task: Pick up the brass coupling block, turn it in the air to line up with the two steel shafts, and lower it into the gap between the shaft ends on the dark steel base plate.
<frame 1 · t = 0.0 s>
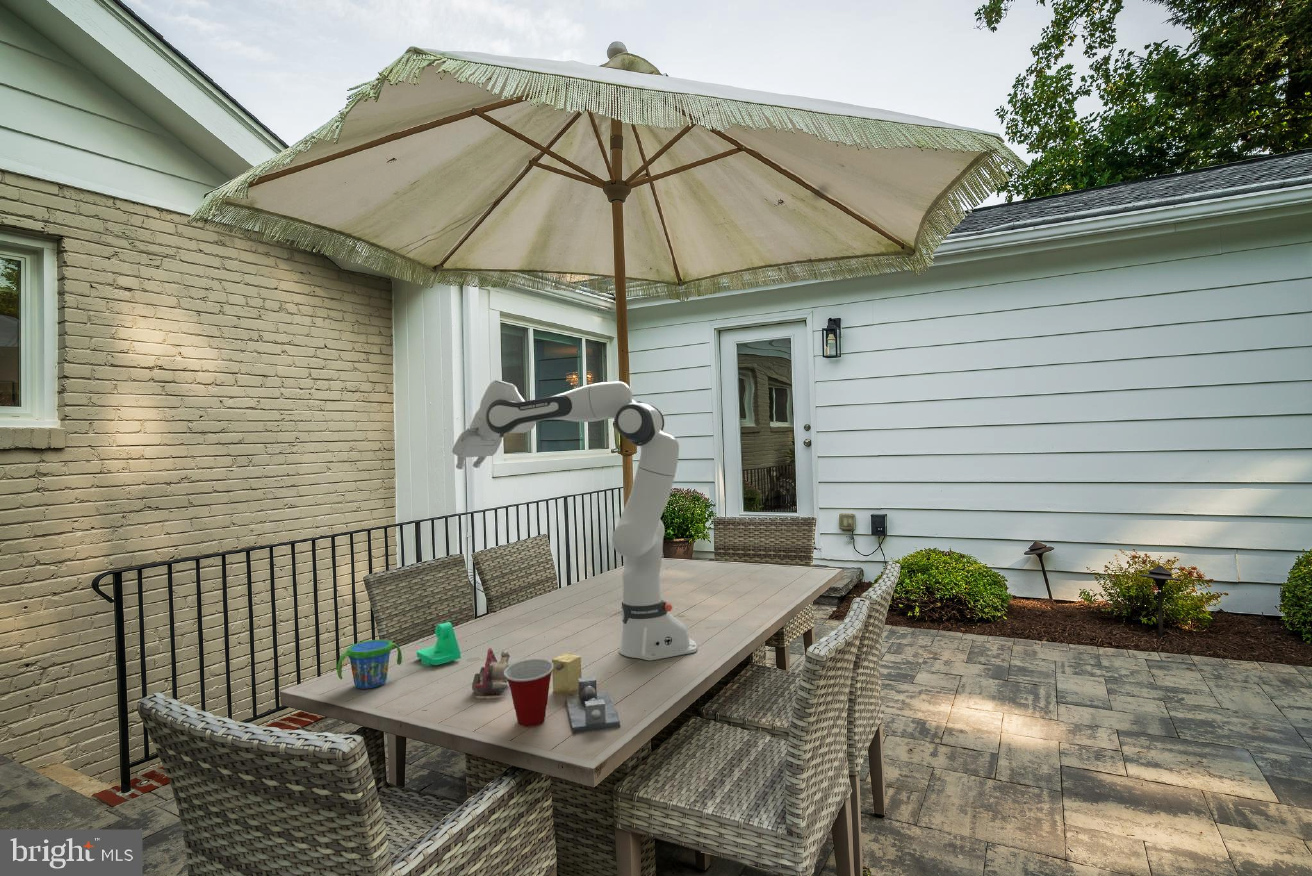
hand: (467, 467, 199), 54 cm above the table, fingers open, 8 cm apart
snack cup: (371, 685, 164), on the table
brake caliper: (493, 691, 158), on the table
plastic cup: (530, 722, 139), on the table
camera mount: (438, 661, 182), on the table
coupling block: (567, 690, 156), on the table
shaft stand: (591, 713, 142), on the table
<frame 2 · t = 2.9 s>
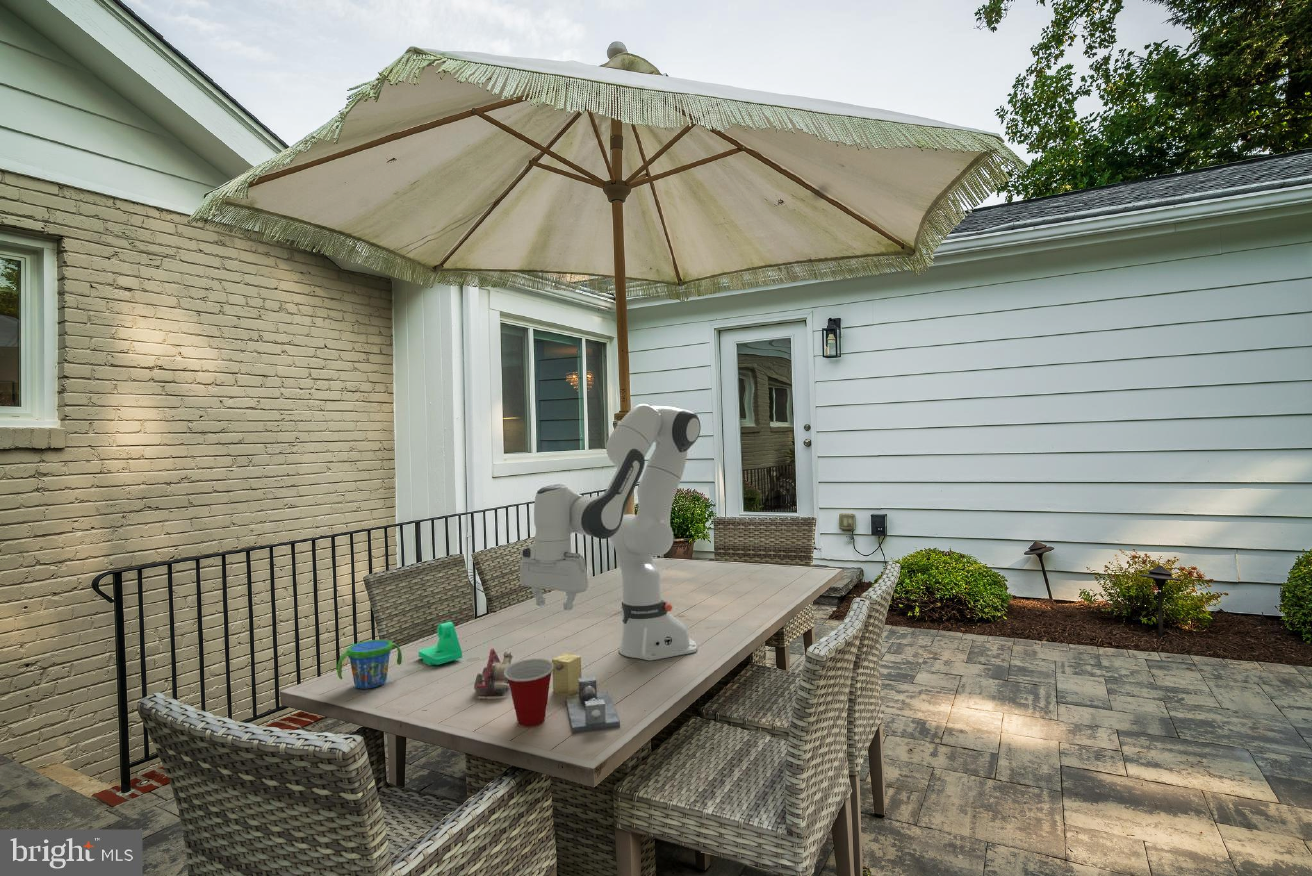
hand: (554, 607, 156), 20 cm above the table, fingers open, 8 cm apart
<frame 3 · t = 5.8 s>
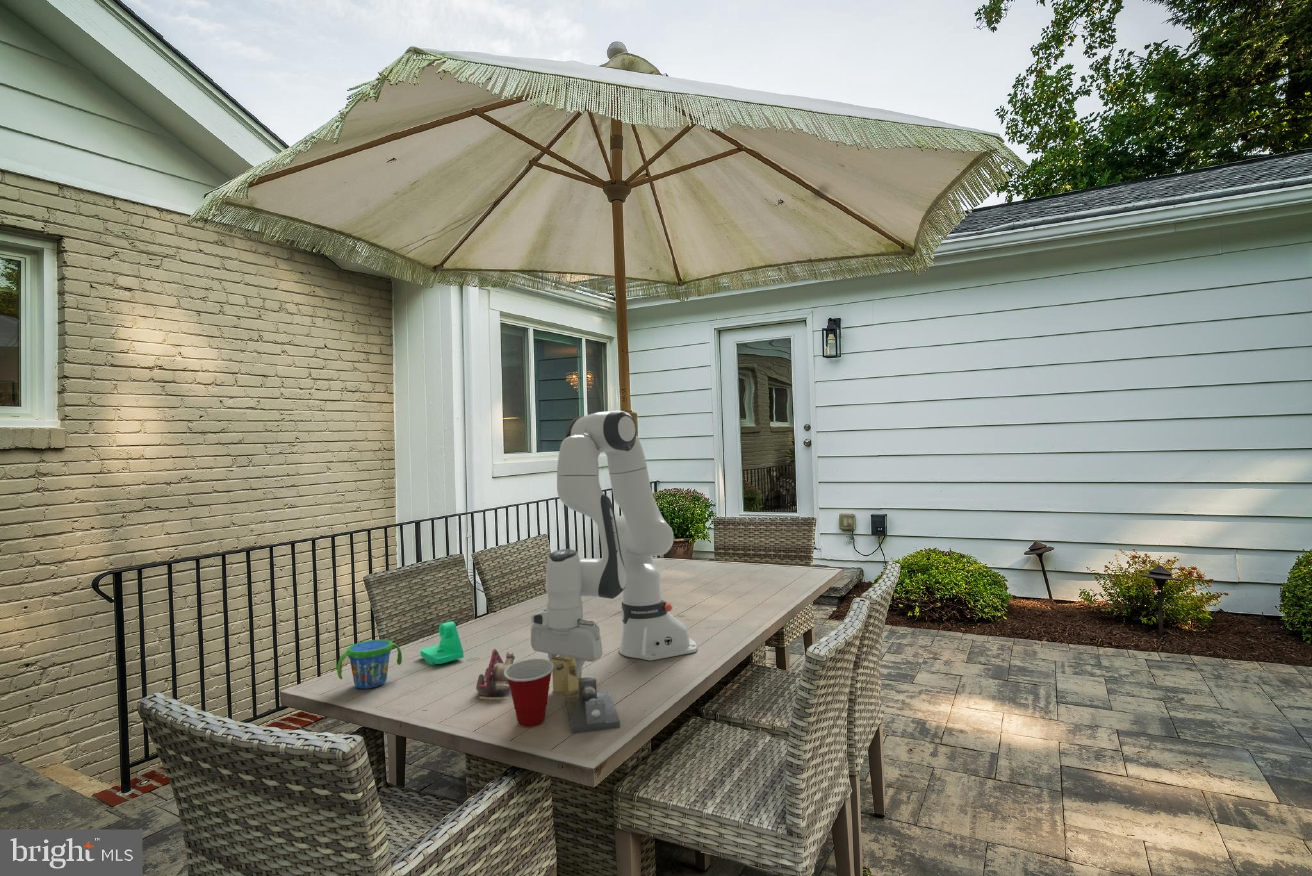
hand: (566, 673, 156), 4 cm above the table, fingers closed on coupling block, 5 cm apart
coupling block: (567, 690, 156), on the table, touching gripper
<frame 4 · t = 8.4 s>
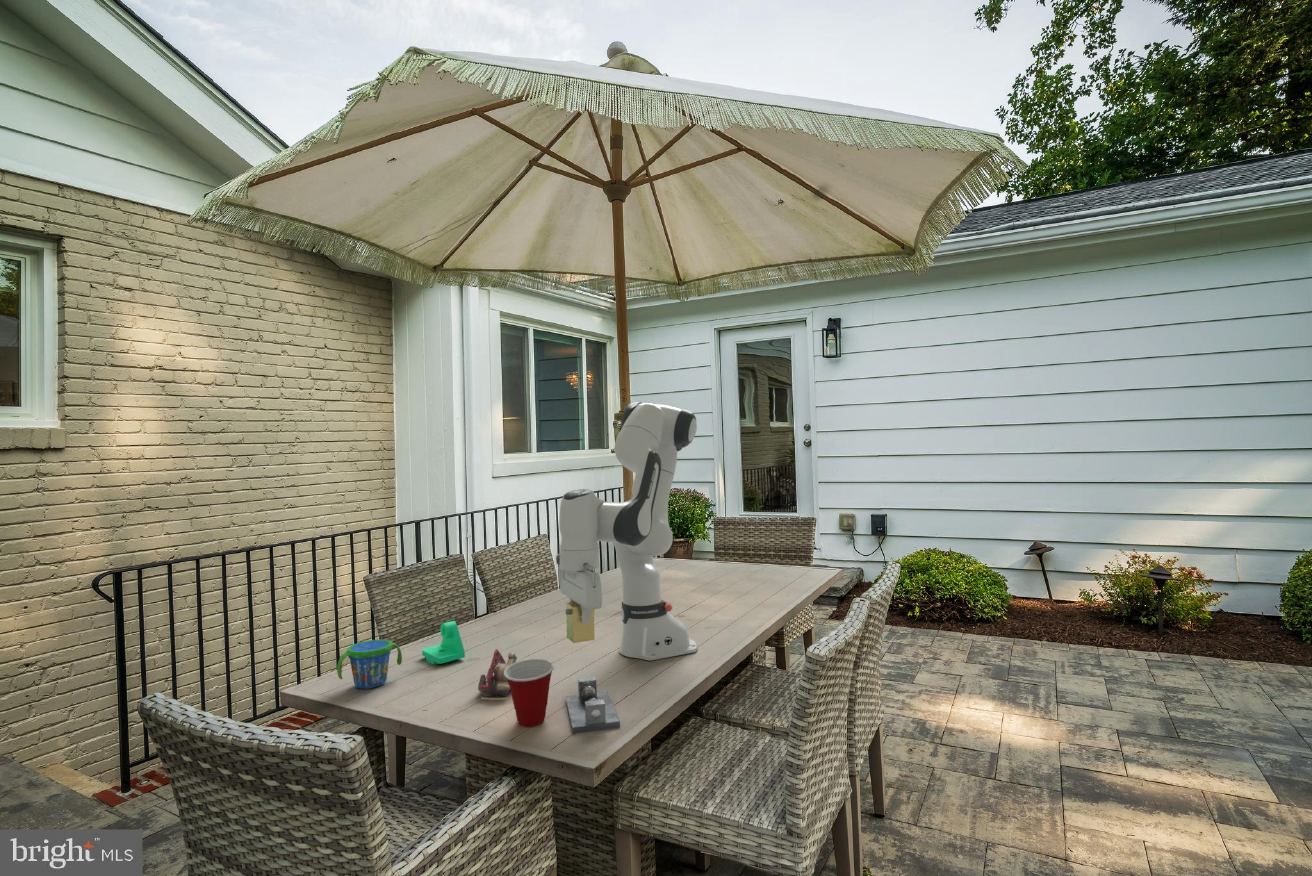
hand: (580, 620, 146), 20 cm above the table, fingers closed on coupling block, 5 cm apart
coupling block: (580, 638, 146), point 16 cm above the table, touching gripper
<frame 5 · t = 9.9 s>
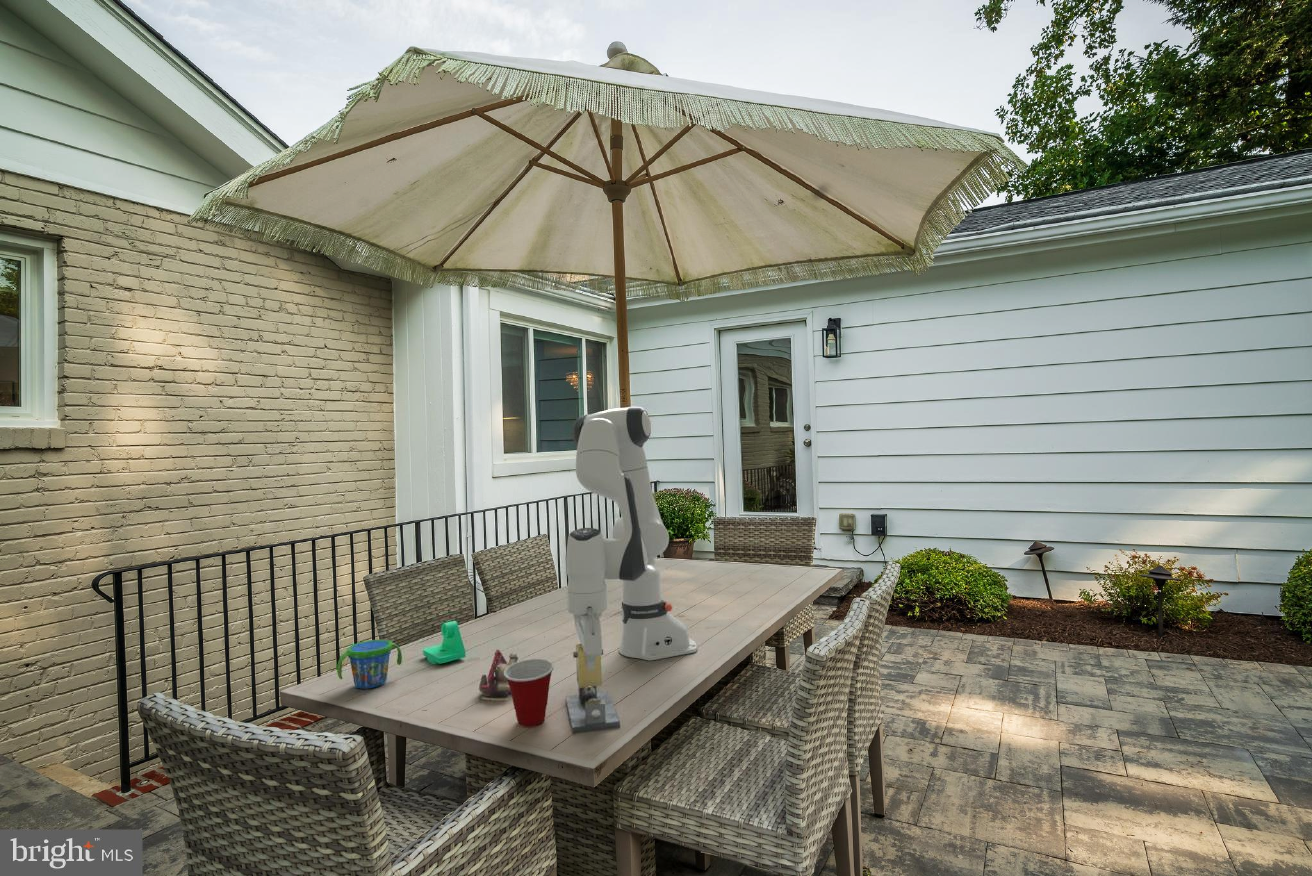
hand: (589, 664, 142), 11 cm above the table, fingers closed on coupling block, 5 cm apart
coupling block: (589, 682, 142), point 7 cm above the table, touching gripper
when the fingers open (7 cm above the table, at t = 11.2 s): coupling block drops 1 cm, resting on shaft stand.
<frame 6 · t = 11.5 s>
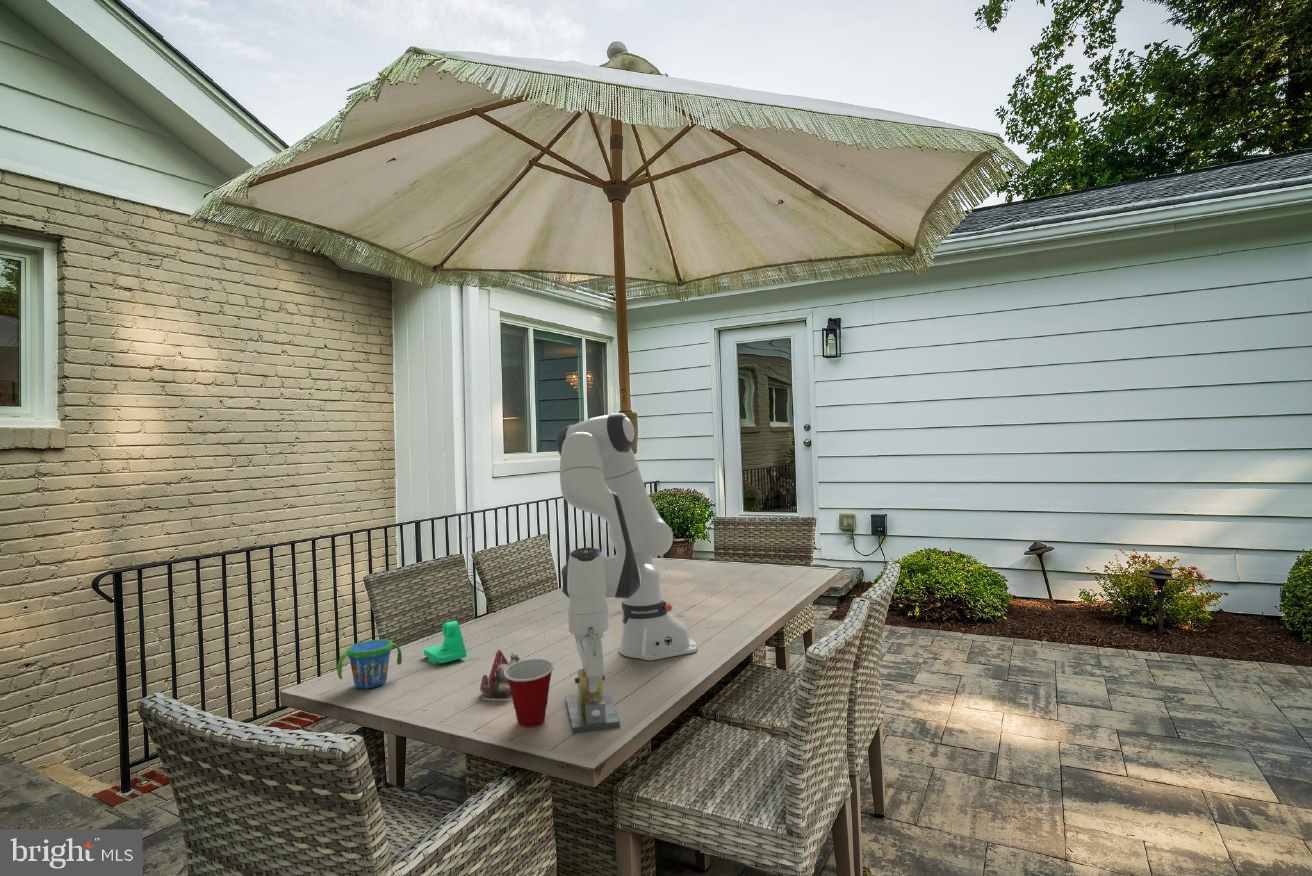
hand: (590, 684, 142), 7 cm above the table, fingers open, 7 cm apart
coupling block: (590, 708, 142), point 1 cm above the table, touching shaft stand
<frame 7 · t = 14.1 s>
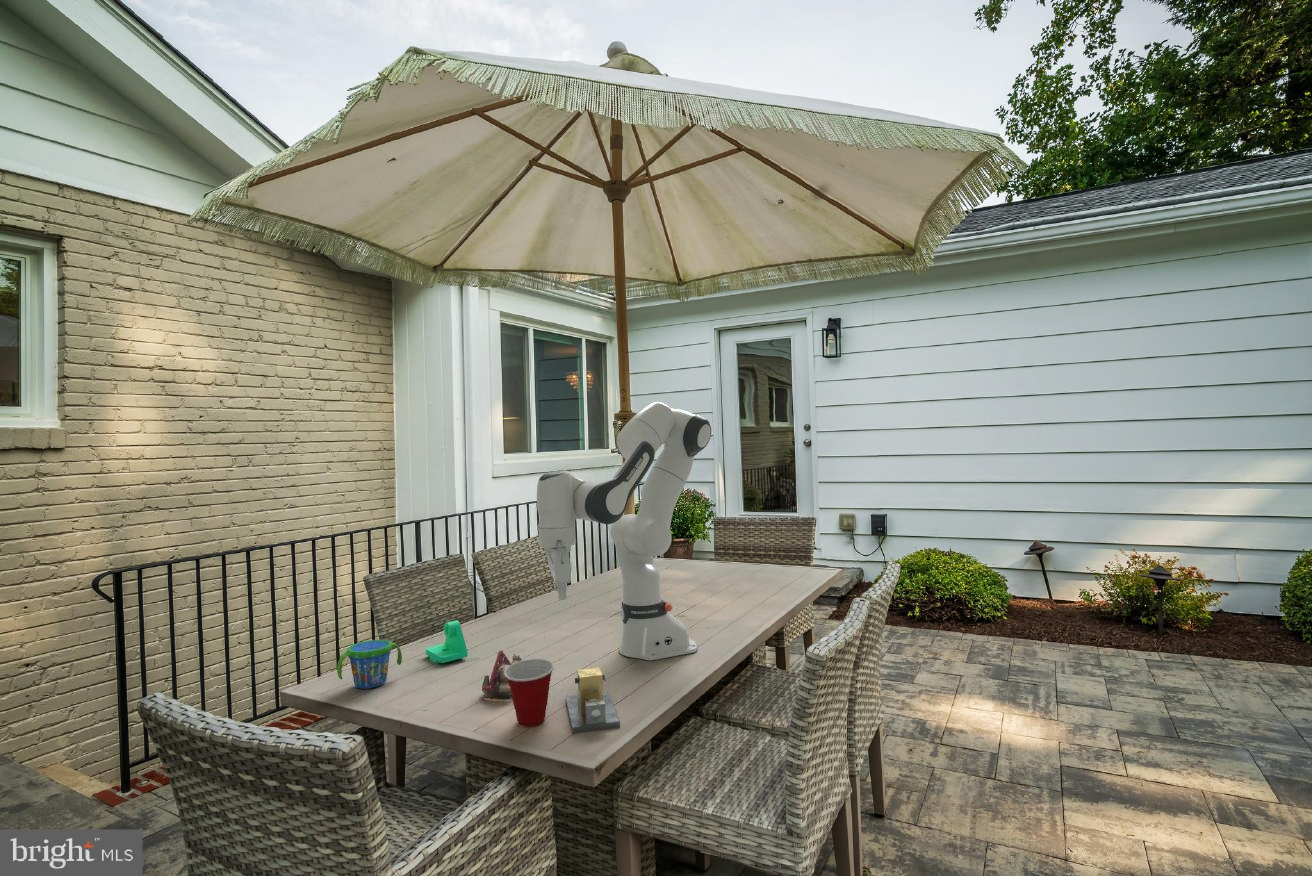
hand: (560, 594, 154), 24 cm above the table, fingers open, 8 cm apart
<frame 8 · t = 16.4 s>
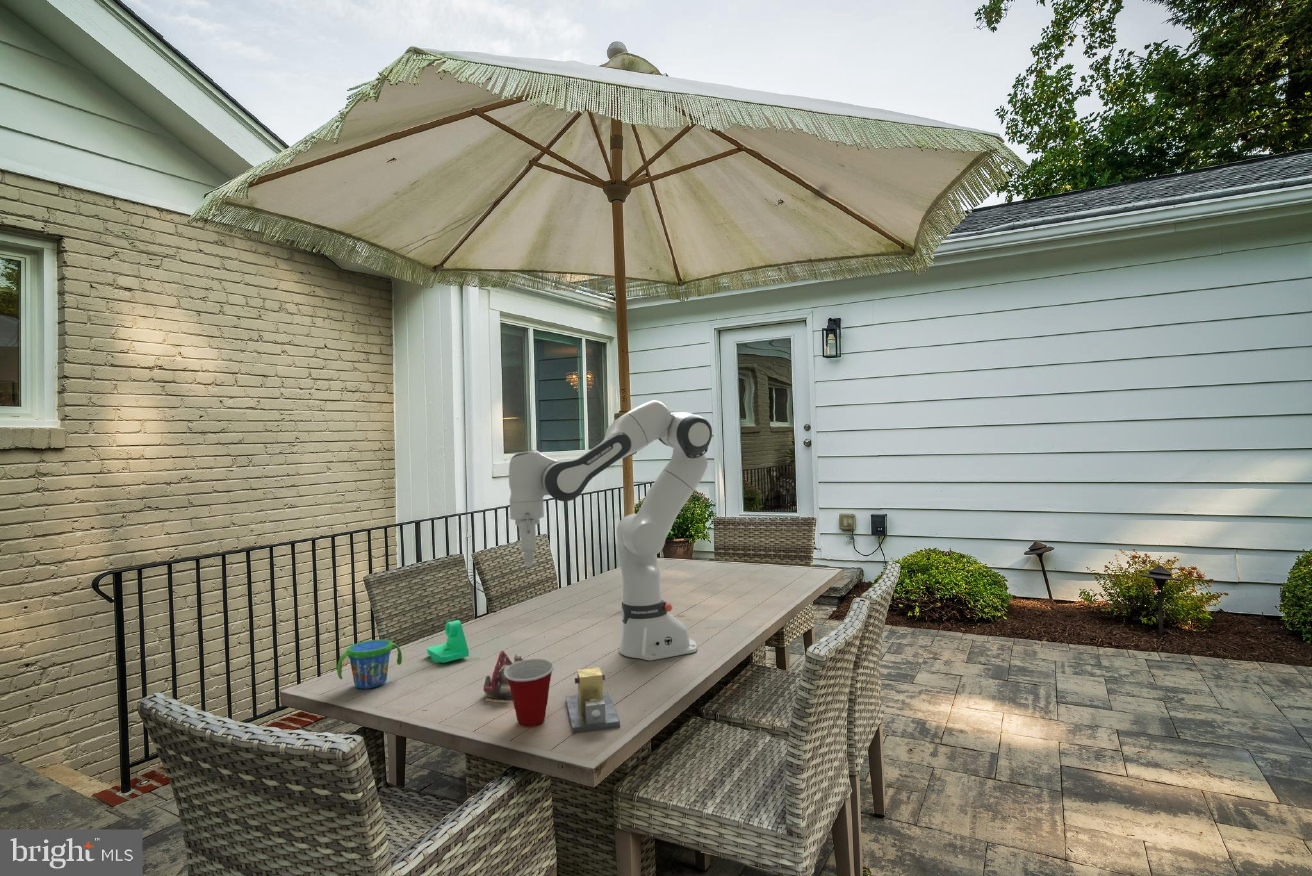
hand: (528, 563, 169), 29 cm above the table, fingers open, 8 cm apart
at the end: coupling block 0.1 cm off-centre on the shaft stand, point 1.2 cm above the shaft stand's base; coupling block tilted 0°; the gripper is holding nothing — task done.
